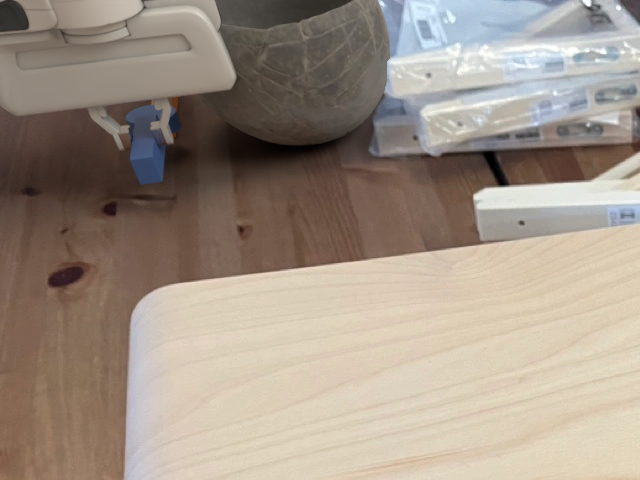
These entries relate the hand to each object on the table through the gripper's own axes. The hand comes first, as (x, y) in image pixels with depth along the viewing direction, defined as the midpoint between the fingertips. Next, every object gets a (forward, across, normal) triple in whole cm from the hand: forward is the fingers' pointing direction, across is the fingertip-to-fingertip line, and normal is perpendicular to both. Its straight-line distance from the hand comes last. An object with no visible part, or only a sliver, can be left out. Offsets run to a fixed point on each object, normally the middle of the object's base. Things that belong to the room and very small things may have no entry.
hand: (147, 145), depth 99 cm
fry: (+4, 0, -18) cm, 19 cm away
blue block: (+2, 0, -3) cm, 3 cm away
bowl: (+5, -15, -9) cm, 18 cm away
